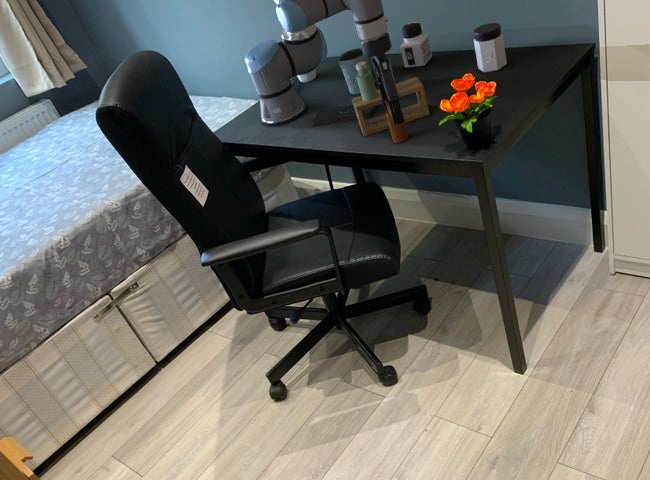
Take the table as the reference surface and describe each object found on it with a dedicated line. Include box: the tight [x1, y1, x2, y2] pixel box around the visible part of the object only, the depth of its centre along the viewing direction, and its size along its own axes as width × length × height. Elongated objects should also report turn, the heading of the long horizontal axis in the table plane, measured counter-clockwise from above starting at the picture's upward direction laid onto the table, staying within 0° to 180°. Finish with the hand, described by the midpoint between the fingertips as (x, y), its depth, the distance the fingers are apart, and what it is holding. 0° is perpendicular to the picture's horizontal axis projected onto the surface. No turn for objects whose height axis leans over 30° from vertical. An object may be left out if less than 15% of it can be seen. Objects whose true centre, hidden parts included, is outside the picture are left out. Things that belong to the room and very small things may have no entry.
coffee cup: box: [297, 68, 317, 83], centre depth 234 cm, size 11×11×12 cm
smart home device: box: [311, 104, 378, 126], centre depth 199 cm, size 8×2×20 cm
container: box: [399, 21, 433, 68], centre depth 215 cm, size 8×8×13 cm
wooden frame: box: [351, 76, 430, 138], centre depth 184 cm, size 8×20×9 cm, turn 100°
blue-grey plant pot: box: [337, 47, 373, 95], centre depth 210 cm, size 10×10×12 cm
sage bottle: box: [356, 62, 377, 101], centre depth 178 cm, size 4×4×10 cm
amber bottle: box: [384, 96, 410, 144], centre depth 172 cm, size 5×5×12 cm
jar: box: [473, 22, 508, 73], centre depth 194 cm, size 9×8×12 cm
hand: (393, 114), depth 172 cm, fingers open, 13 cm apart
